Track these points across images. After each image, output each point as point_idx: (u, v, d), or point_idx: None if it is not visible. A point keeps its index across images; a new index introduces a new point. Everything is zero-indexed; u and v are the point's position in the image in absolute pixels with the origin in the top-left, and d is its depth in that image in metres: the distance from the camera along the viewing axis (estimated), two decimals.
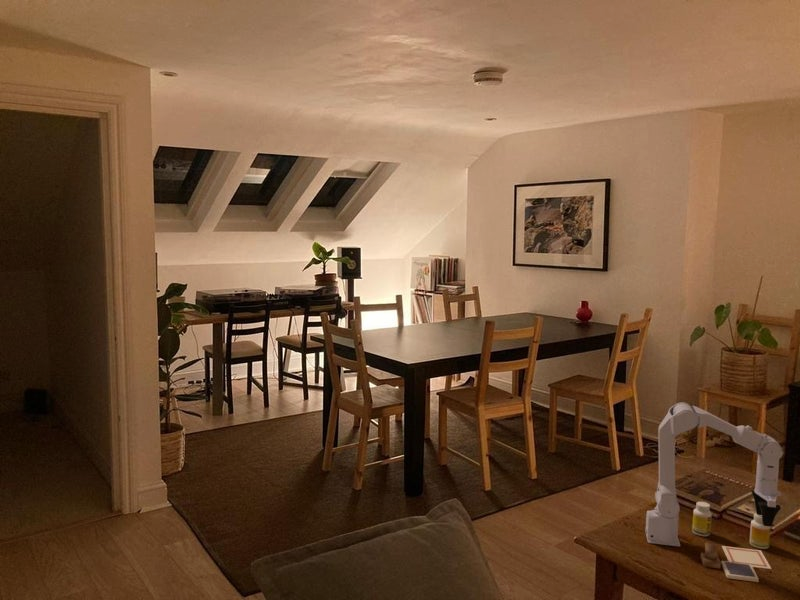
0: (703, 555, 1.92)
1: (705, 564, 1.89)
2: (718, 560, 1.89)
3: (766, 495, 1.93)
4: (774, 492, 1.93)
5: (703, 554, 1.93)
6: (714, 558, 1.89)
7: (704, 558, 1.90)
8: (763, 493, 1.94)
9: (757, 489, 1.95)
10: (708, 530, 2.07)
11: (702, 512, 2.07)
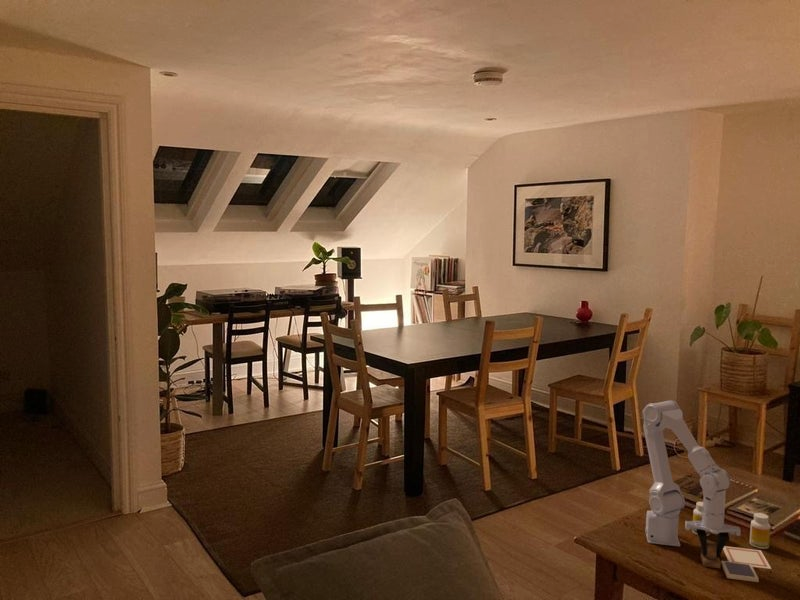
0: None
1: (705, 564, 1.89)
2: (718, 560, 1.89)
3: (701, 523, 1.91)
4: (705, 524, 1.88)
5: None
6: (714, 558, 1.89)
7: (704, 558, 1.90)
8: (702, 521, 1.92)
9: None
10: None
11: (702, 512, 2.07)
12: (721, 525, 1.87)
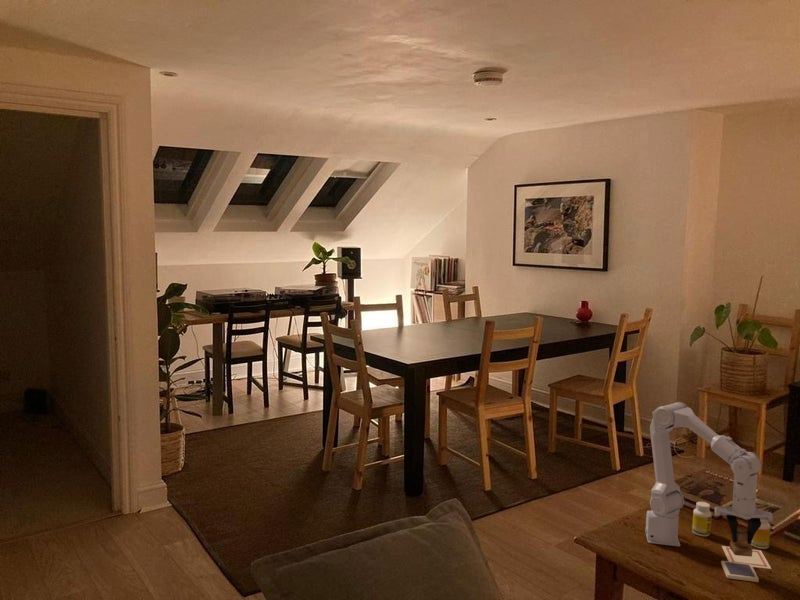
0: (733, 543, 1.86)
1: (736, 552, 1.83)
2: (749, 548, 1.83)
3: (731, 509, 1.85)
4: (736, 509, 1.83)
5: (733, 542, 1.87)
6: (745, 546, 1.83)
7: (735, 546, 1.84)
8: (732, 507, 1.86)
9: None
10: (708, 530, 2.07)
11: (702, 512, 2.07)
12: (753, 510, 1.81)
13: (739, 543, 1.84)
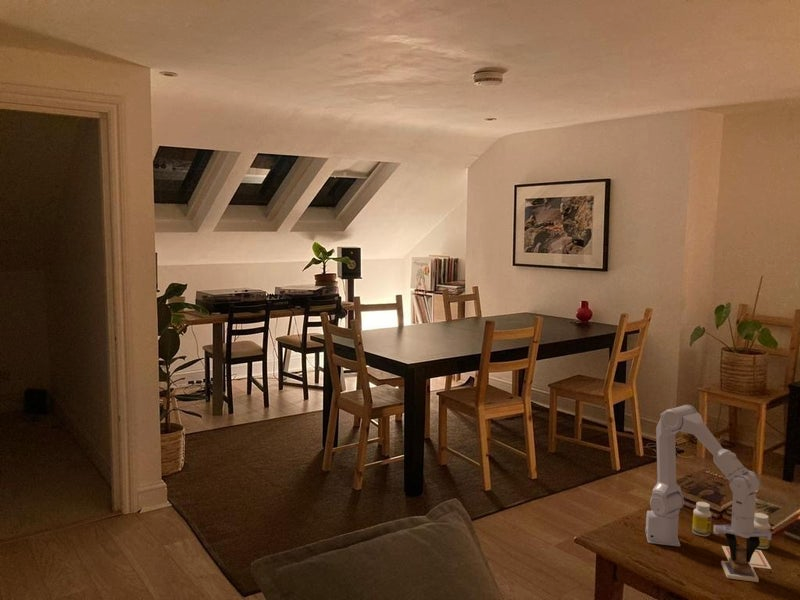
0: (732, 560, 1.86)
1: (735, 570, 1.84)
2: (748, 565, 1.84)
3: (730, 527, 1.86)
4: (735, 528, 1.83)
5: None
6: (744, 563, 1.84)
7: (734, 563, 1.85)
8: (731, 525, 1.86)
9: None
10: (708, 530, 2.07)
11: (702, 512, 2.07)
12: (751, 529, 1.82)
13: (738, 560, 1.84)
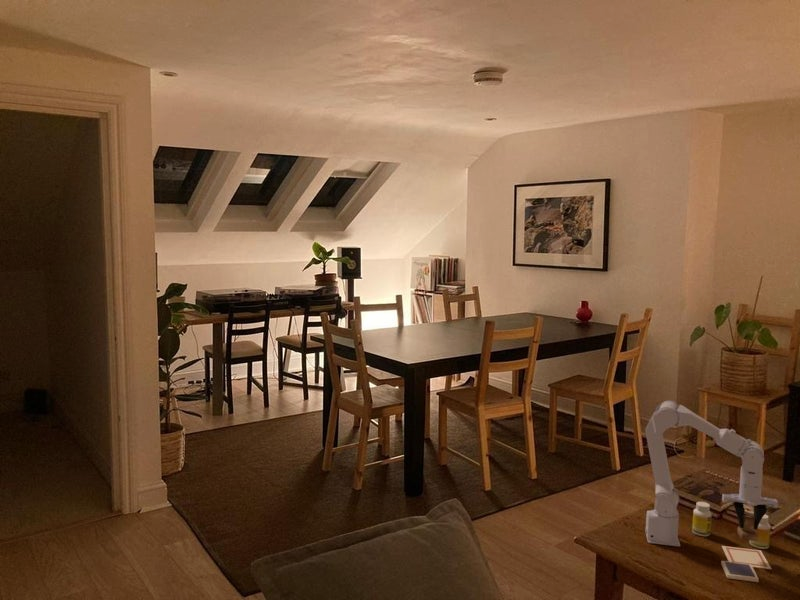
0: (740, 529, 1.94)
1: (743, 537, 1.92)
2: (756, 533, 1.91)
3: (738, 496, 1.94)
4: (743, 497, 1.91)
5: None
6: (752, 531, 1.92)
7: (742, 531, 1.92)
8: (739, 494, 1.94)
9: None
10: (708, 530, 2.07)
11: (702, 512, 2.07)
12: (759, 497, 1.90)
13: (746, 528, 1.92)
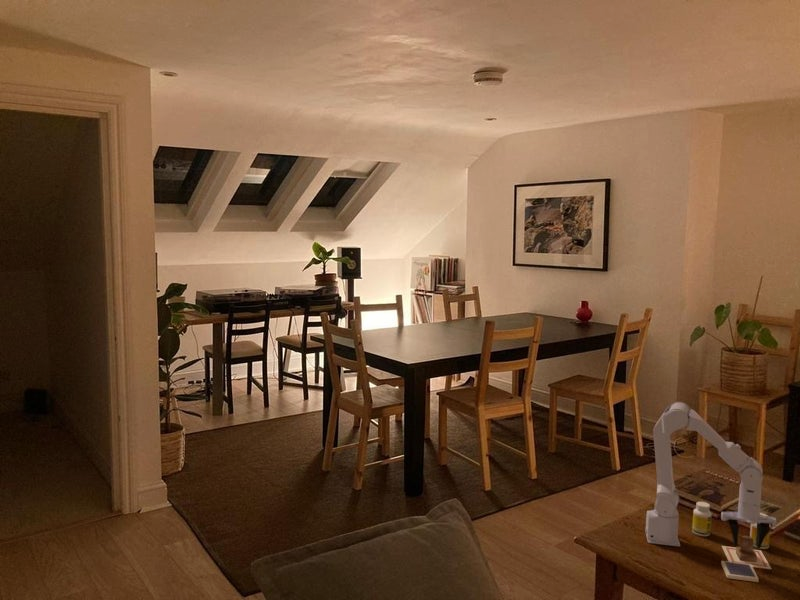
0: (739, 549, 1.95)
1: (741, 558, 1.92)
2: (754, 554, 1.92)
3: None
4: (742, 515, 1.92)
5: (739, 548, 1.96)
6: (750, 552, 1.92)
7: (740, 552, 1.93)
8: (738, 512, 1.95)
9: None
10: (708, 530, 2.07)
11: (702, 512, 2.07)
12: (757, 515, 1.90)
13: (744, 549, 1.93)
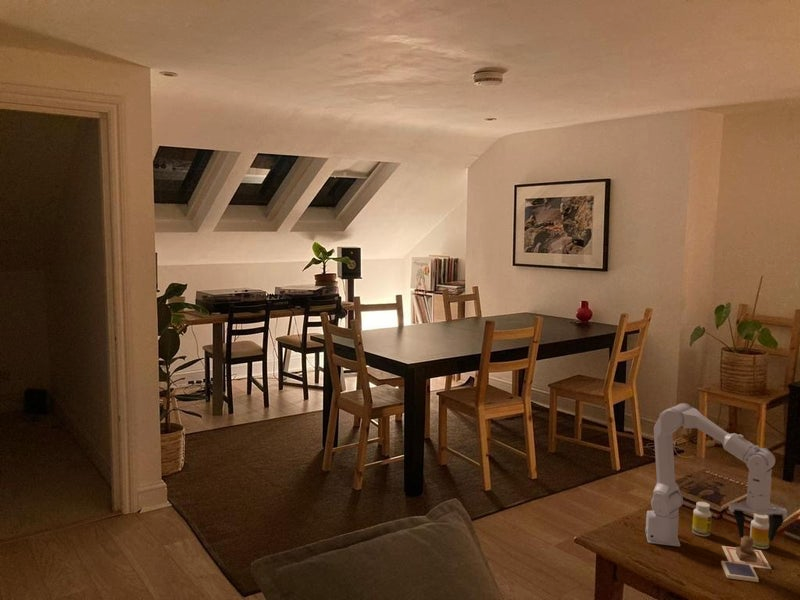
0: (739, 549, 1.95)
1: (741, 558, 1.92)
2: (754, 554, 1.92)
3: (745, 505, 1.85)
4: (751, 506, 1.83)
5: (739, 548, 1.96)
6: (750, 552, 1.92)
7: (740, 552, 1.93)
8: (746, 503, 1.86)
9: None
10: (708, 530, 2.07)
11: (702, 512, 2.07)
12: (767, 506, 1.81)
13: (744, 549, 1.93)
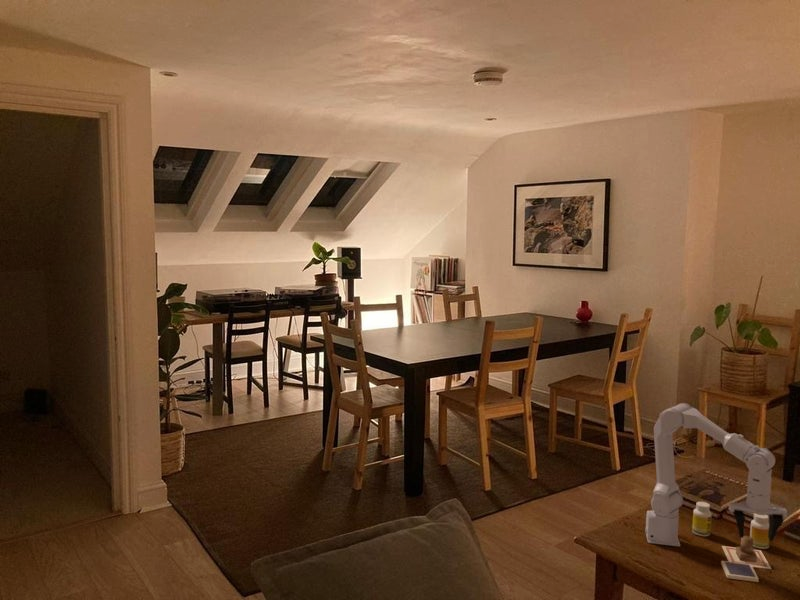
0: (739, 549, 1.95)
1: (741, 558, 1.92)
2: (754, 554, 1.92)
3: (745, 505, 1.85)
4: (751, 506, 1.83)
5: (739, 548, 1.96)
6: (750, 552, 1.92)
7: (740, 552, 1.93)
8: (746, 503, 1.86)
9: None
10: (708, 530, 2.07)
11: (702, 512, 2.07)
12: (767, 506, 1.81)
13: (744, 549, 1.93)
